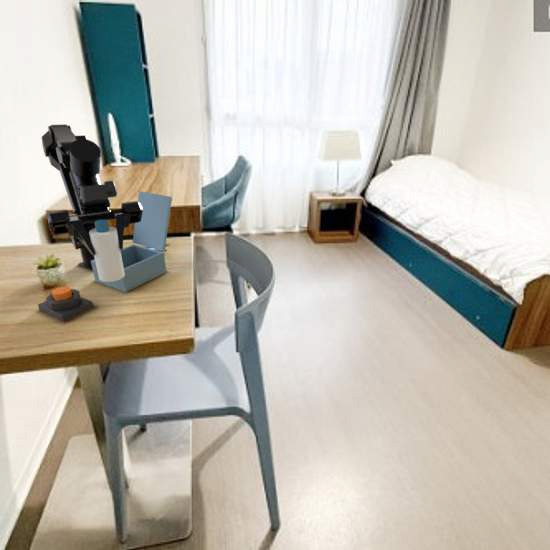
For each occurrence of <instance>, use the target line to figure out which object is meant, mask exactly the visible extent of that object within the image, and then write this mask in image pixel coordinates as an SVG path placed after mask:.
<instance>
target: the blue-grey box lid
mask: <svg viewBox="0 0 550 550" xmlns="http://www.w3.org/2000/svg"><path fill="white" fill-rule="evenodd" d="M137 202H139V203H140V204H141V206H142V209H143V213H142V218H141V221H140V222H138V223H134V227H133V228H134V229H133V236H132V241H133V242H132V243H133V244H134V245H138V246H142V247H145V248H148V247H150V248H154V249H155V250H156V249H157V250H156V251H160V252H161V251H162V252H166V251H165V250H166V245H167V236H168V229H169V222H170V214H171V210H172V209H171V208H172V202H173V197H172V196H170V195H165V194H158V193H152V192H146V191H141V190H139V191H138V197H137Z"/></svg>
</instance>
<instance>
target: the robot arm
mask: <svg viewBox="0 0 550 550" xmlns="http://www.w3.org/2000/svg"><path fill="white" fill-rule="evenodd" d="M47 129H48V130H47V131H46V133H44V134H43V135H42V136H41V143H42V144H41V145H42V149H43V154H44V156H45V157H46V158H48V160H49V163H50V166H52V167H53V168H55V169H56V170H57V171H58V172H59V173H60V177H61V179H62V182H63V185H64V189H65V191H66V194H67V198H68V201H69V203H70V206H71V209H72V211H73V212H72V213H69V211H68V209H62V210H55V211H54V210H53V211H48V213H47V214H46V217H47V222H48V226H49V230H50V233H51V235H52V236H61V235H68V236H69V237H70V239H71V242H72V246H73V247H74V250H79V251H80V255H81V259H82V262H79V263H78V264H77V266H78V267H81V268H84V269H87V270H90V271H93V269H92V264H91V261H92V260H94V259H95V257H94V255H95V252H94V249H93V246H92V243H91V239H90V235H89V231H90V230H92V229H94V228H95V223H94V222H95V221H97V220H107V221H110V220H114V221H115V226H114V227H115V228H116V229H117V235H118V240H119V245H120V249H121V250H123V248H124V232H125V228H128V227H130V225H131V224H135V223H138V222H140V221H141V218H142V213H143V209H142V206H141V204H140V203H139V202H138V200H135V201H133V200H132V201H126V202H125V201H124V202H121V204H120V205H121V206H120V209H119V208H118V209H112V210H110V208H111V202H110V198H116V197H117V195H118V191H117V187H116V185H115V182H114V180H106V181H104V182H103V184H102V182H101V178H100V175H99V174H100V172H101V159H102V151H101V148H100V146H99V145H98V144H97V143H95V142H94V141H92V140H90V139H87V137H86V135H76V134H75V133H74V132H73V131H72V127H71V125H68V124H66V123H65V124H50V125H48V126H47Z"/></svg>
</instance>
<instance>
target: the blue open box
mask: <svg viewBox="0 0 550 550" xmlns="http://www.w3.org/2000/svg"><path fill="white" fill-rule="evenodd" d="M120 251H121V256H122V262H123V267H124V273H125V276H124V277H123V278H122V279H120V280H117V281H113V282H103V281H101V280H100V279H99V276H98V271H97V266H96V262H95V259H94V260H92V261H91V264H92V269H93V270H92V273H93V277H94V281H95V282H97V283H99V284H103V285H105V286H108V287H111V288H113V289H117V290H118V291H122V292H125V293H127V292H129V291H131V290H133V289H135V288H137V287H139V286H141V285H142V284H145V283H147V282H149V281H152V280H154V279H156V278H157V277H159V276H161V275H164V274H166V273H167V267H166V259H165V253H164V251H162V252H161V250H156V249H155V250H152V249H149V248H148V247H146V246H143V245H139V244H135V243H133V244H131V245H128V246H126V247H123V250H121V249H120Z"/></svg>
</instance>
